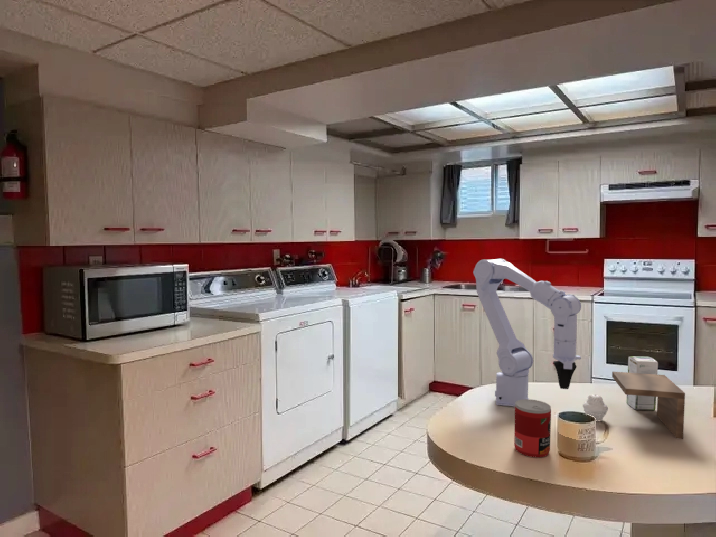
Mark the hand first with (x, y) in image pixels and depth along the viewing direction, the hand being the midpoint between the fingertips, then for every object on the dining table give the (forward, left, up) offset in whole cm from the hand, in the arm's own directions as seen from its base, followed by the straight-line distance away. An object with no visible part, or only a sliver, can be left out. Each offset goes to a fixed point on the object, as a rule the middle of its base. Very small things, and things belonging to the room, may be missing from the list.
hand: (564, 388), depth 135 cm
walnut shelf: (+20, 0, -8) cm, 21 cm away
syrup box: (+22, +14, -8) cm, 28 cm away
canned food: (-10, -25, -8) cm, 28 cm away
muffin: (+8, 0, -8) cm, 11 cm away
